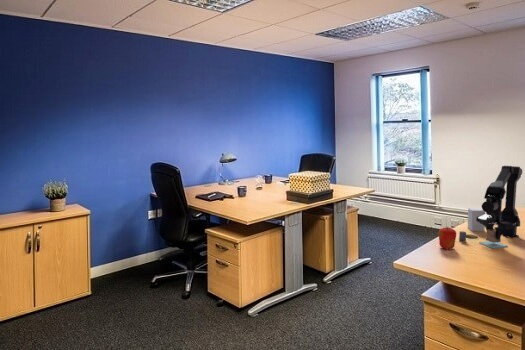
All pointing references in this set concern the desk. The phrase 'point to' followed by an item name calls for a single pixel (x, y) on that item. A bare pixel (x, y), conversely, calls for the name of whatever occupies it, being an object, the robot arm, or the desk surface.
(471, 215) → the supplement box
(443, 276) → the desk surface
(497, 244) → the pale teal mat
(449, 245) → the apple
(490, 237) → the walnut block
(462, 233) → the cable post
